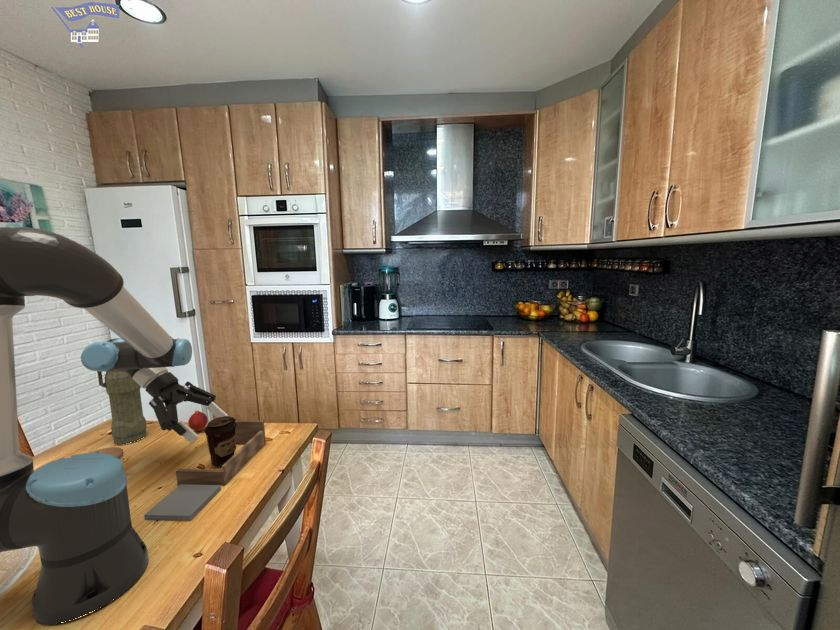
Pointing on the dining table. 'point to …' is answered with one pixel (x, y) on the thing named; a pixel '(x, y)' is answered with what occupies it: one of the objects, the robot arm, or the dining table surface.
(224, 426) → the coffee cup
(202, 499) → the slate pad
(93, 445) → the dining table surface
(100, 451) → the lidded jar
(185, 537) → the dining table surface
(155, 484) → the dining table surface
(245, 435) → the u-shaped wooden frame
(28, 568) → the dining table surface
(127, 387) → the thermos
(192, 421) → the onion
